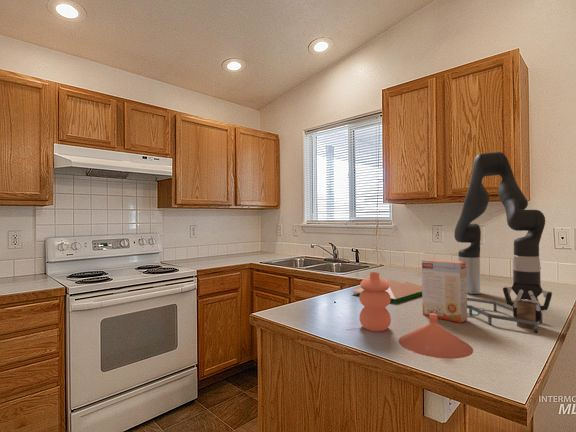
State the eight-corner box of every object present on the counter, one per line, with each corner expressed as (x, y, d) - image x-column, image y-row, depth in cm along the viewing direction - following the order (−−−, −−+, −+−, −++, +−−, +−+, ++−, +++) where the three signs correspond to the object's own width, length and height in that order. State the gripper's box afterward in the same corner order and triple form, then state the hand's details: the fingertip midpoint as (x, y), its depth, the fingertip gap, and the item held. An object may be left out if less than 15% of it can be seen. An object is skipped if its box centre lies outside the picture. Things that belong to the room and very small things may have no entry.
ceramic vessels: (487, 346, 98) (486, 280, 98) (456, 368, 84) (455, 291, 84) (379, 320, 124) (379, 267, 124) (342, 334, 110) (342, 274, 110)
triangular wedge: (347, 298, 159) (347, 281, 159) (387, 288, 181) (387, 272, 181) (391, 308, 142) (391, 288, 142) (430, 295, 164) (429, 278, 164)
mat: (448, 310, 135) (448, 310, 135) (456, 305, 144) (456, 304, 144) (476, 315, 129) (476, 314, 129) (483, 309, 137) (483, 308, 137)
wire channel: (432, 314, 130) (432, 305, 130) (451, 303, 146) (451, 295, 147) (537, 333, 109) (537, 322, 109) (545, 317, 125) (545, 307, 125)
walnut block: (517, 326, 116) (516, 302, 116) (519, 322, 120) (519, 299, 120) (535, 329, 113) (534, 304, 113) (537, 325, 116) (537, 301, 116)
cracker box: (468, 320, 123) (467, 261, 123) (460, 323, 119) (460, 262, 119) (429, 312, 134) (429, 258, 134) (422, 315, 130) (421, 259, 130)
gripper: (499, 268, 118) (500, 318, 118) (552, 272, 109) (552, 327, 109) (504, 266, 124) (504, 314, 124) (554, 269, 114) (555, 321, 114)
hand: (527, 319), depth 116 cm, fingers closed on walnut block, 5 cm apart
